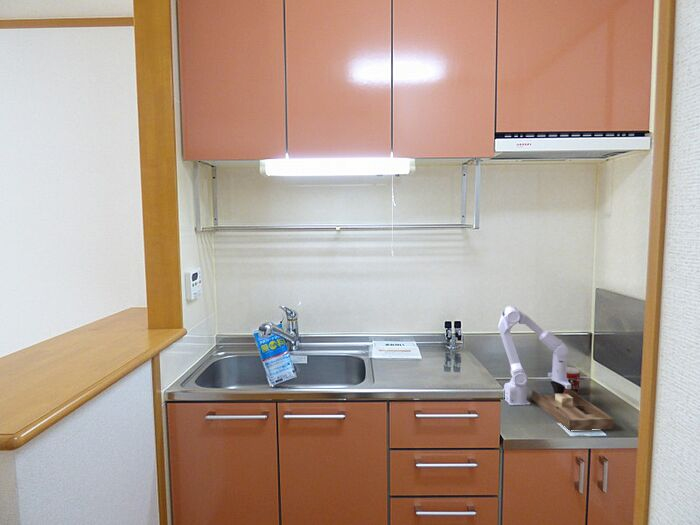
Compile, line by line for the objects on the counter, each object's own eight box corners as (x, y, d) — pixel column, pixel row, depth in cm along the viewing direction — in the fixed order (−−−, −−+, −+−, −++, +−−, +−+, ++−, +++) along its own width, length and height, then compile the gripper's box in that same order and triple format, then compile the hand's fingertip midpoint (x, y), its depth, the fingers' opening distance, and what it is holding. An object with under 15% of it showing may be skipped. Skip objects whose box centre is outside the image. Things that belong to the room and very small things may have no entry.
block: (561, 407, 174) (561, 398, 174) (554, 402, 179) (555, 393, 179) (572, 406, 174) (572, 397, 174) (565, 401, 179) (565, 393, 179)
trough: (569, 431, 158) (570, 420, 157) (531, 399, 186) (532, 390, 186) (613, 429, 159) (613, 418, 158) (568, 398, 188) (569, 388, 187)
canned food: (562, 393, 193) (562, 371, 192) (560, 387, 200) (561, 366, 199) (580, 396, 190) (581, 373, 189) (577, 389, 197) (578, 367, 196)
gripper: (578, 374, 172) (577, 404, 174) (558, 362, 187) (557, 391, 188) (562, 375, 172) (561, 405, 173) (543, 363, 186) (543, 391, 187)
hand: (558, 398), depth 180 cm, fingers closed
